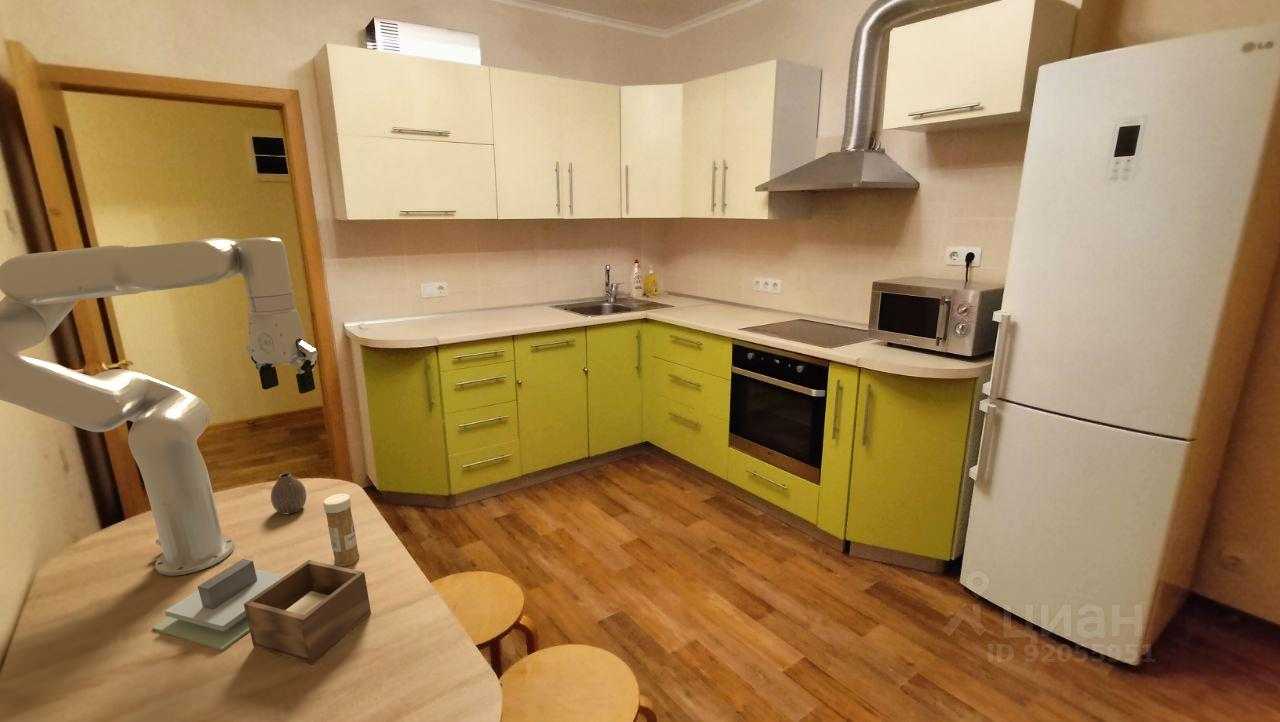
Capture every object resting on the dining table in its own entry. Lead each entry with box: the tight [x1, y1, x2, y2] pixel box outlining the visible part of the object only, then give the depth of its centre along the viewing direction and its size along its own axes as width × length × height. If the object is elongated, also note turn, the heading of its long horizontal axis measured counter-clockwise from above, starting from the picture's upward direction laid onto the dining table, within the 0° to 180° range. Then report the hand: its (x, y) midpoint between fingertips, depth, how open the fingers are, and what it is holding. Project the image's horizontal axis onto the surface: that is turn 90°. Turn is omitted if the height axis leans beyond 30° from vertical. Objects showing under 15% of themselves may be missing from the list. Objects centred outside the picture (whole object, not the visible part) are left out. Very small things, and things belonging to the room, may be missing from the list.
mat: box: [151, 616, 250, 651], centre depth 101 cm, size 16×16×1 cm
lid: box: [164, 558, 285, 631], centre depth 100 cm, size 13×13×6 cm
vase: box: [270, 472, 307, 514], centre depth 132 cm, size 7×7×9 cm
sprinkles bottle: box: [322, 493, 361, 567], centre depth 112 cm, size 5×5×13 cm
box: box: [244, 559, 372, 665], centre depth 94 cm, size 12×12×8 cm
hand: (289, 389), depth 115 cm, fingers open, 9 cm apart
